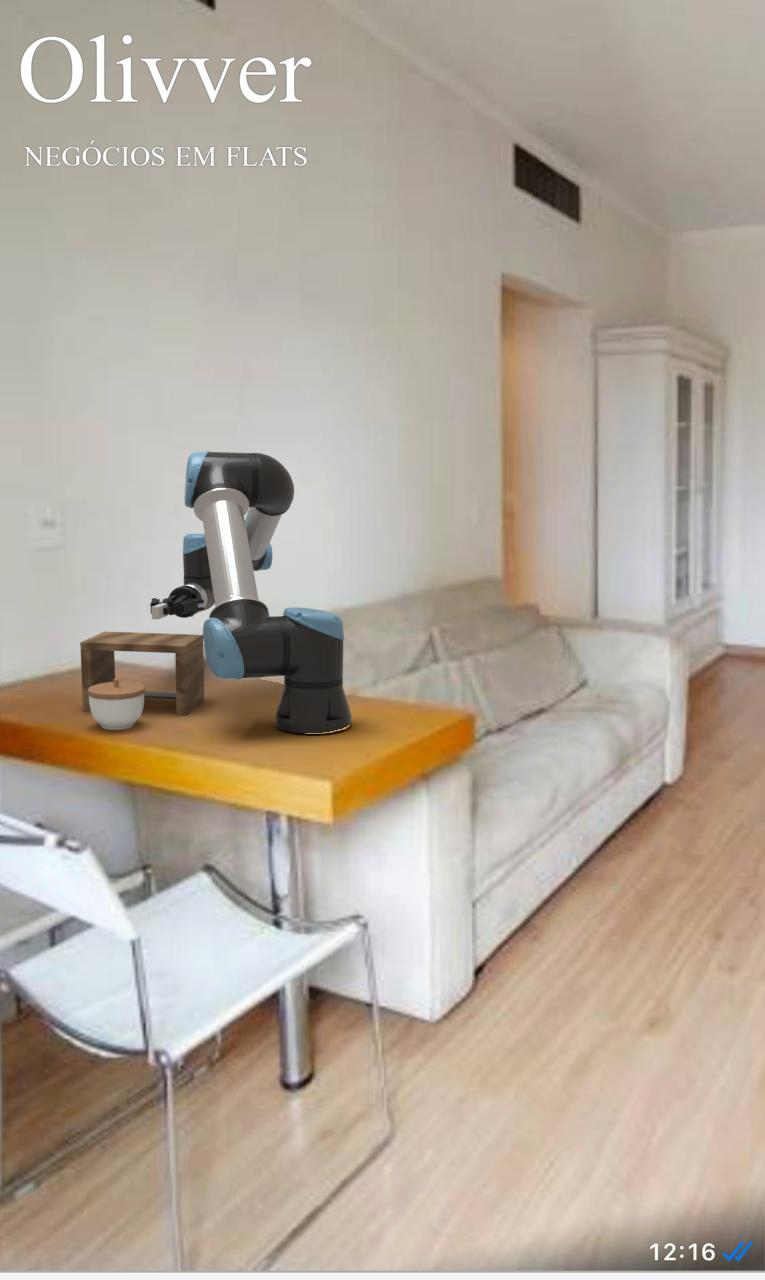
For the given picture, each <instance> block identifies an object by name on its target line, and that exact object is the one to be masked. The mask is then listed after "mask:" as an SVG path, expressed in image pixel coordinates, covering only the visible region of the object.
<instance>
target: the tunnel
mask: <svg viewBox="0 0 765 1280" xmlns="http://www.w3.org/2000/svg"><path fill="white" fill-rule="evenodd" d="M79 646H80V665H81V666H80V668H81V669H80V670H81V671H80V672H81V691H82V693H81V694H82V711H83V712H91V710H90V705H89V695H88V689H89V688H90V687H91V686H93V685H97V684H101V683H107V682H114V679H116V665H115V664H116V663H115V662H116V661H115V652H131V653H132V652H137V653H139V652H140V653H160V654H161V653H163V654H164V653H165V654H175V655H174V656H175V693H176V699H175V701H176V715H177V716H188V715H189V714H190V713H191V712H192V711H194V710H195V709H196V708H197V707H198V706H199V705H201V704H202V703H203V702H204V701H205V667H204V666H205V665H204V661H205V659H204V640H203V634H189V633H188V634H185V633H157V632H155V633H154V632H153V633H151V632H131V631H129V632H127V631H125V632H124V631H103V632H100V633H98V634H96V635H94V636H92V637H89V638H88V639H85V640H83V641H80V644H79Z"/></svg>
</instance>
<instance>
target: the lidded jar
mask: <svg viewBox="0 0 765 1280" xmlns="http://www.w3.org/2000/svg"><path fill="white" fill-rule="evenodd" d="M145 689H146V687H145V686H144V684H142V683H139V682H135V681H120V679H119V678H115V679H114V682H107V683H101V684H97V685H93V686H91V687H90V688H89V689H88V695H89V705H90V710H91V711H90V712H91V715H92V717H93V719H94V721H96V722H97V723H98V724H99V725H100V726H101V728H102V729H103V730H109V731H119V730H122V731H123V730H127V729H130V728H132V727H134V726H135V724H136V722H137V721H139V719H140V718H141V716H142V714H143V712H144V711H143V710H144V707H145V706H144V705H145V698H144V692H145V691H146V690H145Z"/></svg>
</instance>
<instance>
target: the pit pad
mask: <svg viewBox="0 0 765 1280" xmlns="http://www.w3.org/2000/svg"><path fill="white" fill-rule="evenodd" d="M144 697H148V698H147V699H166V700H169V699H170V700H171V699H172V700H176V692H166V691H165V692H164V691H148V690H147V691H146V690H145V692H144Z"/></svg>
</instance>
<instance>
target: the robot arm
mask: <svg viewBox="0 0 765 1280" xmlns="http://www.w3.org/2000/svg"><path fill="white" fill-rule="evenodd" d="M184 484H185V485H184V506H185V507H187V508H189V509H193V513H194V515H195V516H196V518H197V519H198V520H199V521H201V522H202V524H203V533H188V534H185V536H183V541H182V546H183V547H182V558H183V563H182V564H183V584H182V585H180V586H178V587H175V588H174V589H173V590H172V591H171V592H170V593H169V595H168V597H166V598H163V599H162V600H161V599H160V598H156V597H152V598H151V602H150V614H151V620H160V619H163V618H165V617H167V616H175V617H178V618H181V619H183V618H184V619H186V618H193V617H194V615H196V614H198V613H201V612H204V611H207V610H209V609H210V608H212V607H213V606H214V605H215V606H214V607H213V608H212V610H211V611H210V613H209V616H208V618H207V619H205V620H204V623H203V627H202V635H203V650H204V655H205V657H206V661H207V664H208V666H209V668H210V671H211V672H212V673H213V675H214V676H216V677H217V678H218V679H222V680H223V679H234V680H241V679H248V678H249V679H250V678H267V677H282V676H283V677H284V678H283V679H284V681H283V683H284V684H283V685H284V687H283V691H282V692H281V693H282V694H281V696H280V700H279V702H278V705H277V709H276V711H275V717H274V719H275V722H274V723H275V727H276V728H277V729H278V730H281V731H282V730H283V731H282V732H285V731H288V732H287V733H289V732H294V733H293V734H295V733H323V732H330V731H334V730H338V729H342V728H344V727H347V726H348V725H350V724H351V725H352V712H351V709H350V706H349V703H348V698H347V696H346V693H345V689H344V640H345V635H344V634H345V633H344V624H343V623H344V622H343V620H342V617H341V616H340V615H338V614H336V613H334V612H330V611H325V610H322V609H316V608H315V609H314V608H307V607H299V606H298V607H295V606H294V607H285V608H284V610H283V613H282V615H278V616H270V613H269V608H268V606H267V605H266V604H265V603H264V602H263V601H261V600H259V595H258V589H257V583H256V577H255V572H259V571H266V570H269V569H270V568H272V565H273V564H272V563H273V548H272V545H271V540H272V538H273V536H274V534H275V531H276V530H277V527H278V525H279V522H280V519H281V517H282V515H284V514H285V513H287V511H289V509H291V505H292V504H293V500H294V496H295V485H294V482H293V479H292V476H291V474H290V472H289V470H288V469H286V467H285V466H284V465H283V464H282V463H281V462H280V461H278V460H277V459H276V458H274V457H272V456H271V455H268V454H264V453H259V452H228V451H227V452H223V451H217V452H216V451H210V450H207V451H199V452H193V453H191V454H190V455H189V456H188V458H187V464H186V471H185V483H184ZM245 515H246V516H245Z"/></svg>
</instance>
